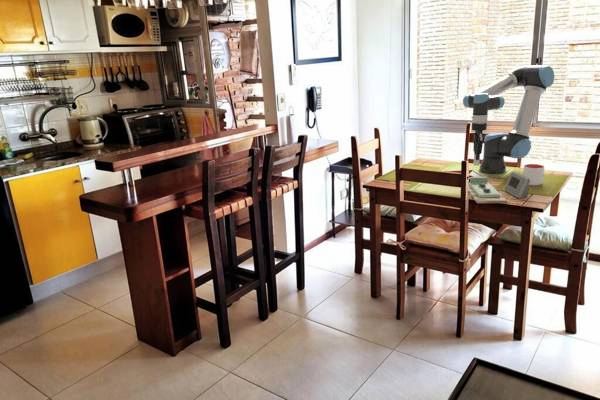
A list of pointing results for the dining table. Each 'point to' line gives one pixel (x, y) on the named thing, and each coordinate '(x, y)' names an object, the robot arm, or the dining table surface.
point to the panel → (479, 191)
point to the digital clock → (517, 185)
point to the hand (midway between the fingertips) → (476, 165)
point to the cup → (534, 174)
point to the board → (486, 199)
